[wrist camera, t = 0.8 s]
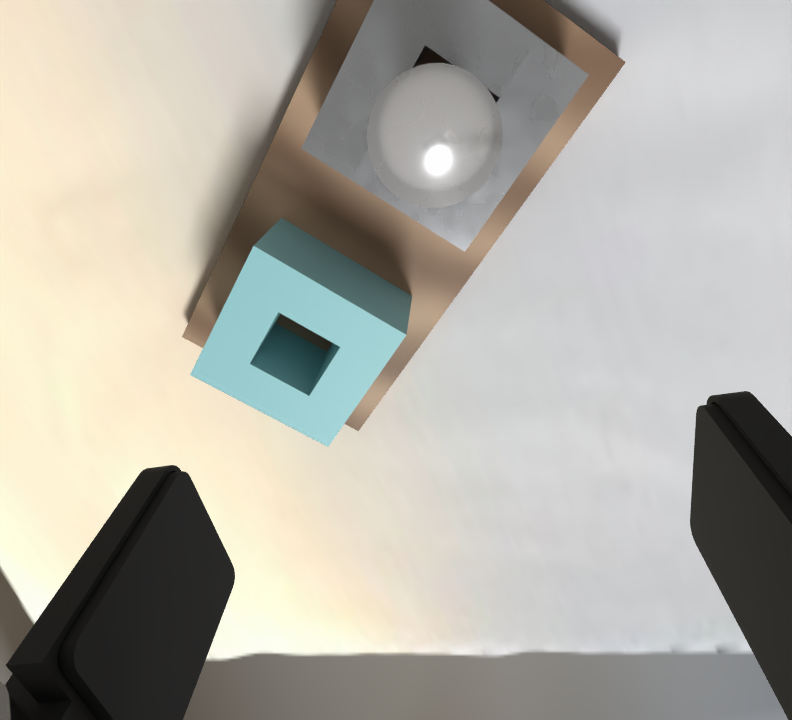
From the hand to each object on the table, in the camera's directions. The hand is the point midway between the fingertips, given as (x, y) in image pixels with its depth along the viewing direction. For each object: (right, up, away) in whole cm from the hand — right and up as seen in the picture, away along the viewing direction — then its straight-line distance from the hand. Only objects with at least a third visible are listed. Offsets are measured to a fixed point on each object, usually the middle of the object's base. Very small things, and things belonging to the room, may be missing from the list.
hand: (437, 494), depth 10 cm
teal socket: (-7, +6, +29) cm, 30 cm away
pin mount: (+2, +17, +22) cm, 28 cm away
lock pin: (+2, +17, +22) cm, 28 cm away
